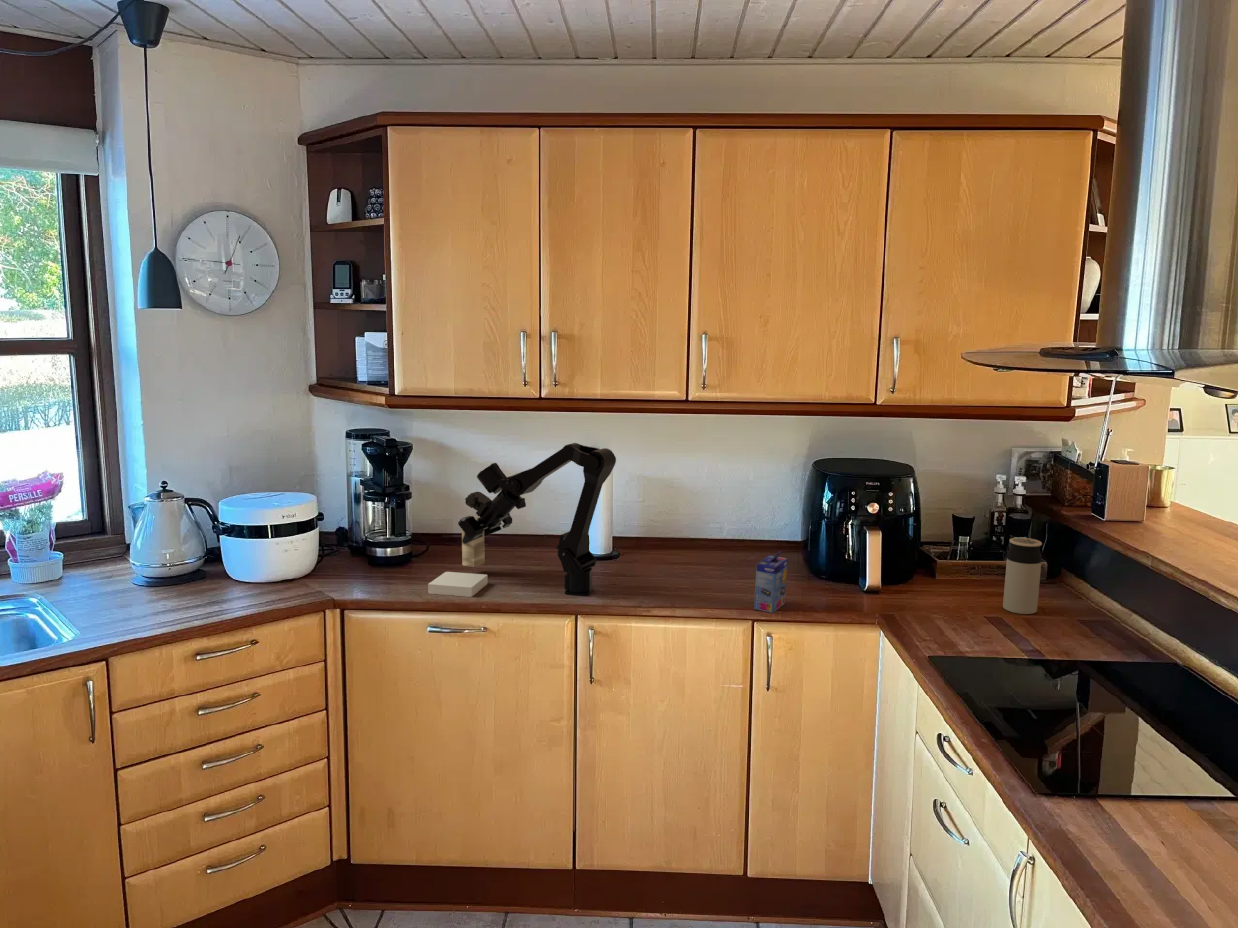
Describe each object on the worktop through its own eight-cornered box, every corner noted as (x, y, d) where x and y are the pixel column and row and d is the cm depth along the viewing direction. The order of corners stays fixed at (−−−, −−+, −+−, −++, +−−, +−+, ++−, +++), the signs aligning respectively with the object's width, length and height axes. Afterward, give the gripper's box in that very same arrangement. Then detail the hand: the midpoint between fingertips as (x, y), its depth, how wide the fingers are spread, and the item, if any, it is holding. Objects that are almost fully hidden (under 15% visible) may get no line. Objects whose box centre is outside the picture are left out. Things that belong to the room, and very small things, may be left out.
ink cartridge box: (774, 614, 227) (776, 557, 225) (753, 610, 230) (755, 554, 228) (786, 603, 236) (789, 548, 234) (766, 599, 239) (768, 545, 236)
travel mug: (1025, 617, 227) (1032, 546, 224) (996, 608, 234) (1002, 539, 231) (1043, 611, 232) (1049, 542, 229) (1013, 603, 238) (1019, 535, 235)
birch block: (484, 562, 259) (483, 517, 257) (474, 567, 255) (473, 521, 253) (473, 560, 261) (472, 516, 259) (462, 565, 257) (461, 519, 255)
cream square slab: (487, 585, 249) (487, 574, 249) (471, 598, 238) (471, 587, 237) (446, 582, 252) (445, 571, 251) (428, 595, 240) (427, 584, 240)
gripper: (503, 478, 261) (472, 512, 267) (463, 489, 244) (431, 525, 251) (526, 508, 258) (494, 541, 265) (488, 521, 242) (455, 556, 249)
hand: (469, 540), depth 258 cm, fingers closed on birch block, 5 cm apart
